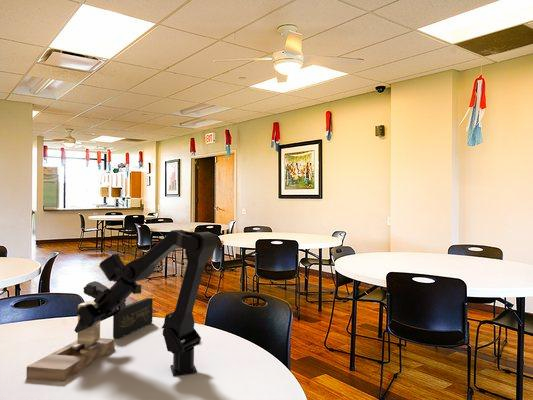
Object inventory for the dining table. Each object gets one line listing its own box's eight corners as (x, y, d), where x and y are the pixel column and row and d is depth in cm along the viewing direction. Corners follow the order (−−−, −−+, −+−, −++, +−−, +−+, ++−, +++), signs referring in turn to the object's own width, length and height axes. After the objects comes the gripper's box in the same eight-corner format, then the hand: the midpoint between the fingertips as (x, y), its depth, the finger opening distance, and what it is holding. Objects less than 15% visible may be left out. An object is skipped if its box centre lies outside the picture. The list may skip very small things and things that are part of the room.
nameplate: (148, 322, 157) (148, 297, 157) (152, 323, 156) (152, 297, 157) (112, 339, 137) (113, 310, 137) (117, 339, 136) (118, 310, 137)
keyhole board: (64, 381, 103) (64, 369, 103) (26, 378, 105) (26, 366, 105) (114, 348, 127) (114, 339, 127) (83, 346, 129) (83, 336, 129)
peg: (91, 355, 120) (92, 305, 120) (76, 354, 121) (77, 304, 121) (100, 349, 125) (101, 301, 125) (86, 348, 126) (87, 301, 126)
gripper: (117, 268, 132) (86, 300, 133) (83, 278, 114) (47, 315, 115) (139, 293, 131) (107, 325, 132) (108, 307, 112) (71, 344, 114)
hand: (85, 327), depth 123 cm, fingers open, 9 cm apart
